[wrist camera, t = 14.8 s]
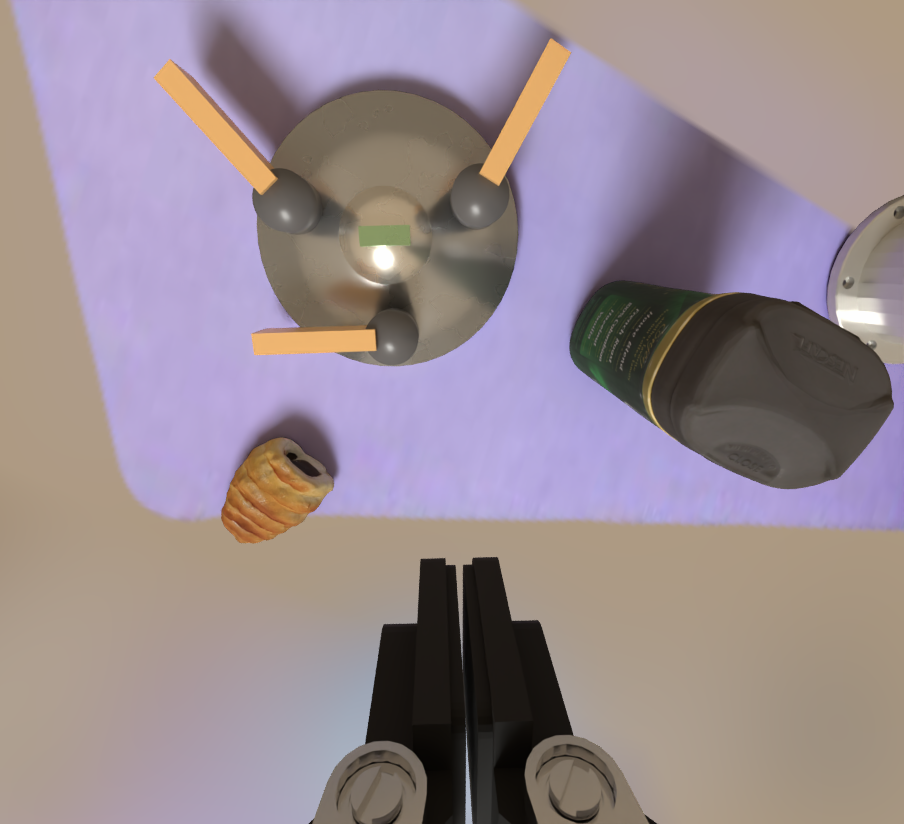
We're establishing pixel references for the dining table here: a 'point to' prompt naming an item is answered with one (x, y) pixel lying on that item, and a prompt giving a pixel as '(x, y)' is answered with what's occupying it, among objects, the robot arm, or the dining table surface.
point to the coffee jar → (737, 378)
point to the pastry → (274, 491)
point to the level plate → (420, 172)
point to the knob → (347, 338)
